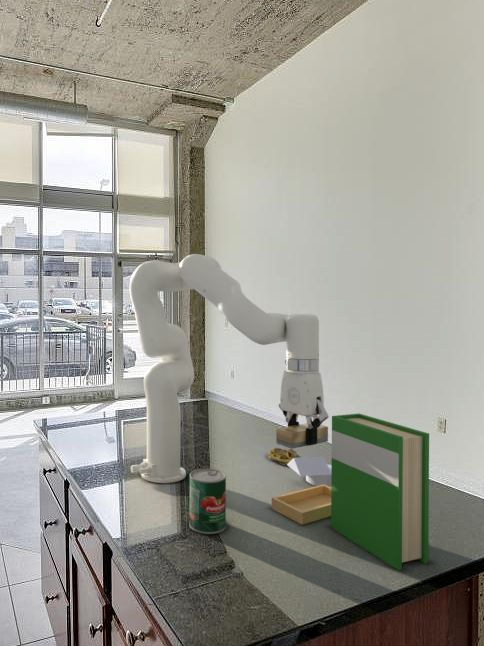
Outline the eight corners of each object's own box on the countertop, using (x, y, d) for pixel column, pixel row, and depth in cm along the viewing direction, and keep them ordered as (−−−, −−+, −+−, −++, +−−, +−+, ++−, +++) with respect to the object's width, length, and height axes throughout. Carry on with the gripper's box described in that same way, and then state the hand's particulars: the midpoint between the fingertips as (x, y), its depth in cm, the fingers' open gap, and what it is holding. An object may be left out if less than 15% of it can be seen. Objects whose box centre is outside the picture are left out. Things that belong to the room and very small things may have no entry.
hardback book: (428, 562, 90) (429, 433, 90) (397, 569, 87) (398, 437, 87) (358, 522, 106) (359, 413, 106) (331, 527, 104) (331, 416, 103)
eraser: (291, 448, 110) (291, 433, 110) (276, 443, 115) (276, 428, 115) (328, 441, 116) (328, 426, 116) (312, 436, 121) (312, 422, 121)
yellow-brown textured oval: (260, 456, 155) (283, 471, 141) (259, 442, 155) (282, 455, 141) (286, 451, 158) (312, 465, 143) (284, 436, 158) (310, 449, 143)
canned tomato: (216, 537, 99) (216, 484, 99) (182, 528, 103) (182, 476, 103) (231, 522, 106) (232, 472, 105) (199, 514, 110) (199, 466, 110)
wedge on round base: (300, 489, 125) (347, 486, 127) (300, 463, 125) (347, 461, 127) (286, 476, 134) (330, 474, 136) (287, 452, 134) (330, 450, 136)
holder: (302, 524, 105) (302, 513, 105) (271, 508, 113) (271, 497, 113) (356, 508, 113) (356, 497, 113) (323, 494, 122) (324, 484, 122)
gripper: (265, 363, 121) (265, 435, 121) (319, 370, 106) (319, 453, 106) (287, 361, 125) (287, 431, 125) (342, 368, 110) (342, 448, 110)
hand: (302, 440), depth 115 cm, fingers closed on eraser, 5 cm apart
